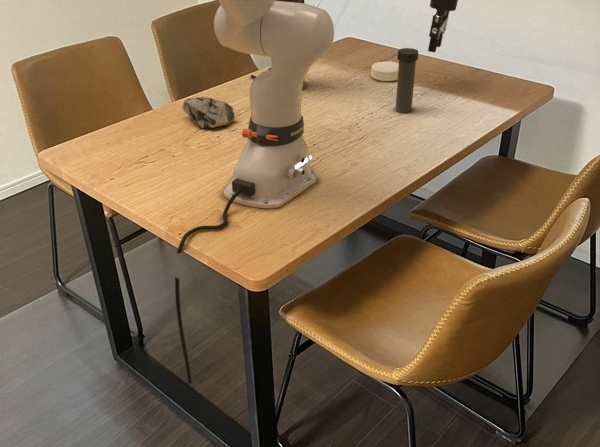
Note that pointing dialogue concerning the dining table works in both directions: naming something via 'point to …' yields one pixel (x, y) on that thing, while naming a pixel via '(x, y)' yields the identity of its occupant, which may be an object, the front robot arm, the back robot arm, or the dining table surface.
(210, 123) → the rock
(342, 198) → the dining table surface
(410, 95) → the brown cylindrical canister
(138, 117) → the dining table surface
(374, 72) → the cream short cylinder
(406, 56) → the lid
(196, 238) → the dining table surface
